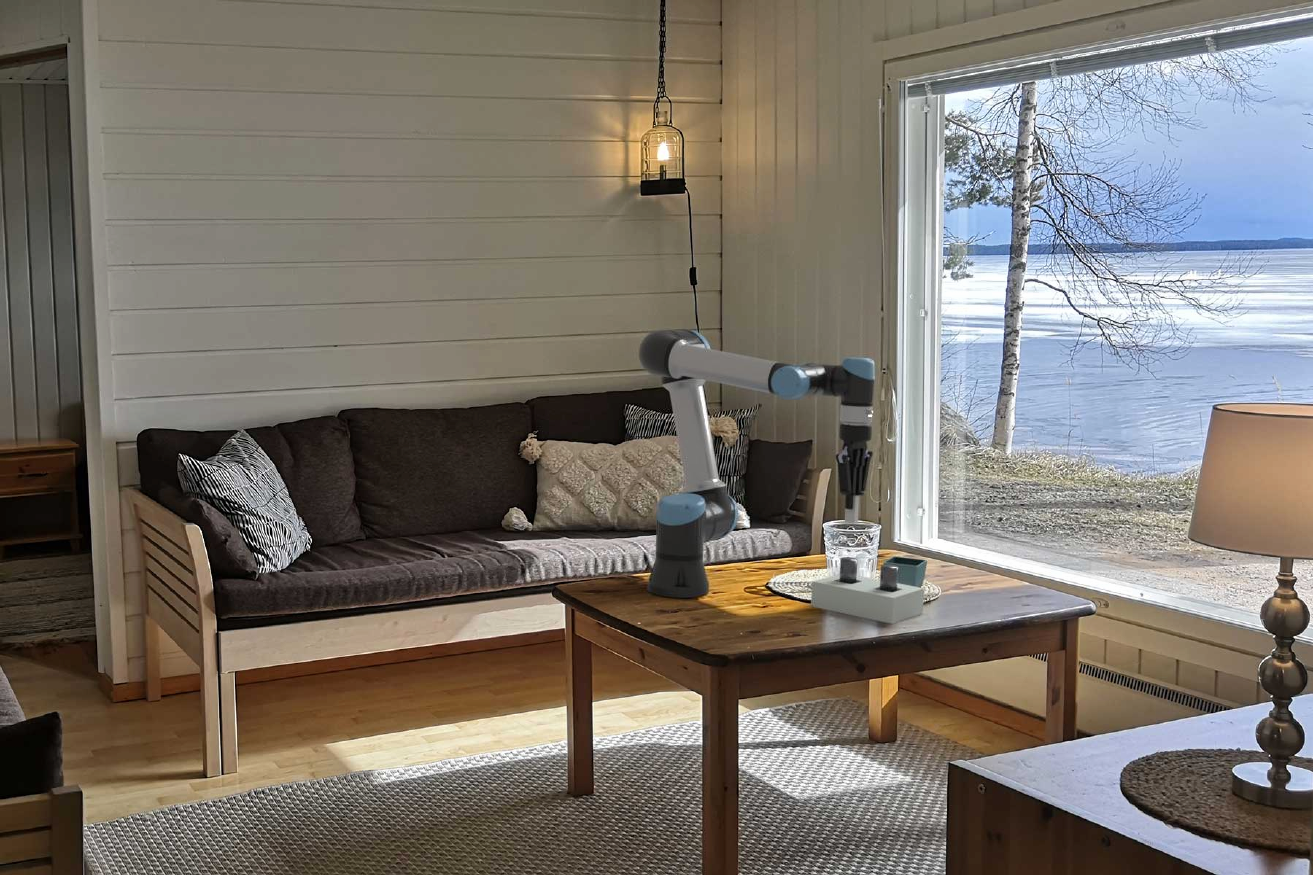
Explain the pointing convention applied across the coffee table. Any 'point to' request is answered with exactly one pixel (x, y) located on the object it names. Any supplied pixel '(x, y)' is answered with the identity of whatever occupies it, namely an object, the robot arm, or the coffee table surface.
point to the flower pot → (909, 570)
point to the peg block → (867, 599)
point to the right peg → (888, 578)
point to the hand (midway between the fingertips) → (851, 522)
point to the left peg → (848, 570)
